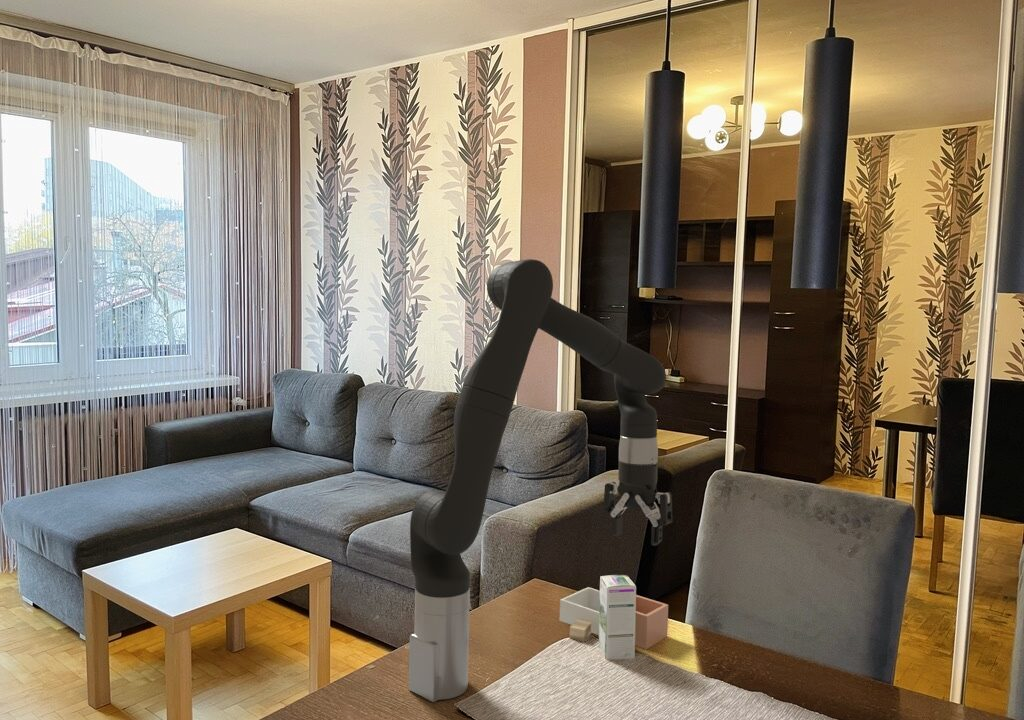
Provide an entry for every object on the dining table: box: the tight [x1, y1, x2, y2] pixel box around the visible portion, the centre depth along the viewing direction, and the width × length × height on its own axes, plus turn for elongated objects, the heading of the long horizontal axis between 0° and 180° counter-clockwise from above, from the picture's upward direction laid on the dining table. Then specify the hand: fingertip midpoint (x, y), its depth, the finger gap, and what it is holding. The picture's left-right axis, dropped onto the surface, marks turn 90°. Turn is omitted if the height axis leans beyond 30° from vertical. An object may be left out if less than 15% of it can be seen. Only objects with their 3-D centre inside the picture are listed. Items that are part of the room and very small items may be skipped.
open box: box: [635, 594, 669, 650], centre depth 146 cm, size 8×8×7 cm
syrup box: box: [598, 574, 637, 661], centre depth 139 cm, size 6×6×14 cm
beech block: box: [568, 620, 592, 642], centre depth 146 cm, size 4×3×3 cm
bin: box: [558, 586, 600, 636], centre depth 154 cm, size 10×10×5 cm
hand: (636, 539), depth 146 cm, fingers open, 8 cm apart
